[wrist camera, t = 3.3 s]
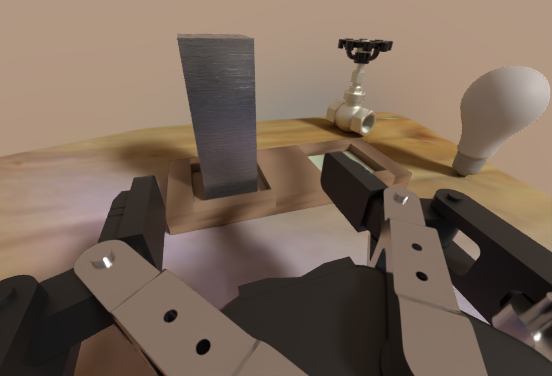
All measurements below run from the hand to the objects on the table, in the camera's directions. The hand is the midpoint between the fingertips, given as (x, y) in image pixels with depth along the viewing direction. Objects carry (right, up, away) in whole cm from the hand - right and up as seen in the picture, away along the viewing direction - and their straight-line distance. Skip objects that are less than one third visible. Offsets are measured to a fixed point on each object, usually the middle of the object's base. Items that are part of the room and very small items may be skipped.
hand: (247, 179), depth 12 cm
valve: (+12, +8, +26) cm, 30 cm away
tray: (+3, 0, +14) cm, 14 cm away
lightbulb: (+22, +1, +16) cm, 27 cm away
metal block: (-3, 0, +11) cm, 12 cm away
